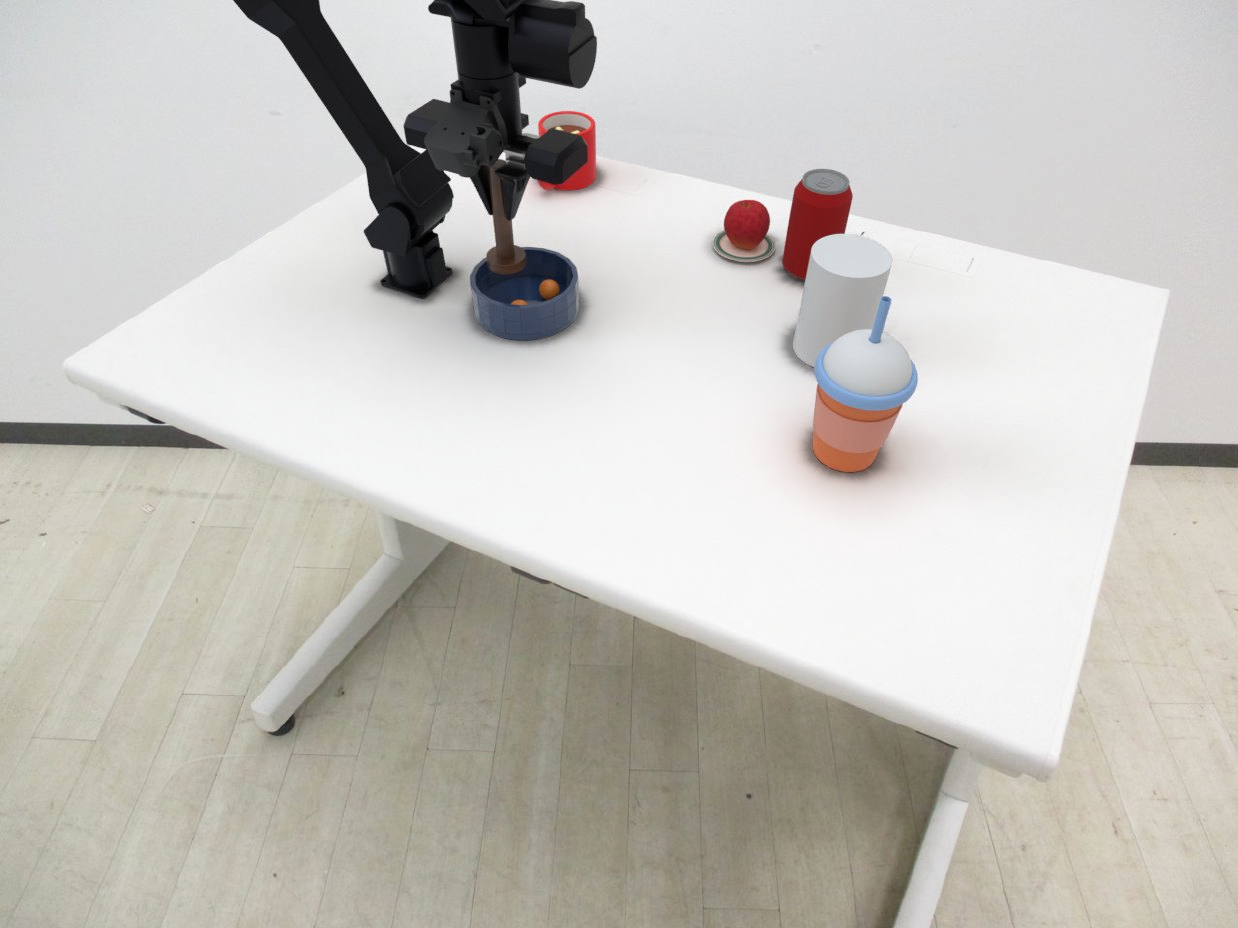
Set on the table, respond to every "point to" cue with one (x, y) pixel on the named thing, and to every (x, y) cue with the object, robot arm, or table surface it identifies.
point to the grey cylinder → (840, 291)
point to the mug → (579, 126)
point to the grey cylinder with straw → (860, 394)
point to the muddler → (502, 231)
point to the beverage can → (815, 216)
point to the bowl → (526, 296)
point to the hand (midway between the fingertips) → (501, 216)
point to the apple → (745, 233)
